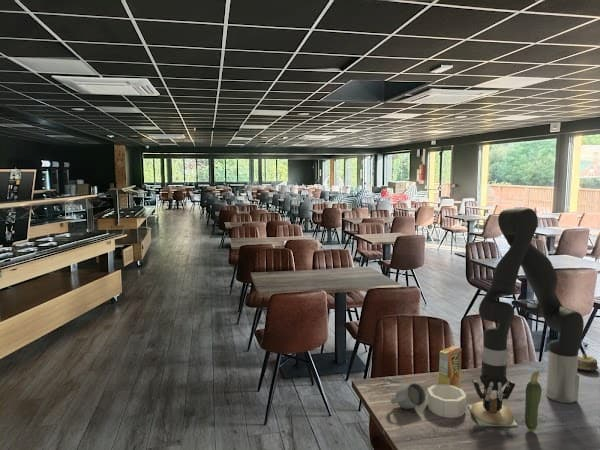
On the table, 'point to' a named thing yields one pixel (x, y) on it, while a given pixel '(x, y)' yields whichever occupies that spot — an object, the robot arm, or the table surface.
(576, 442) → the table surface
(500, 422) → the lid
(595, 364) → the cake
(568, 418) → the table surface
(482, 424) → the mat
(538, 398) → the vegetable
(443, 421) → the table surface
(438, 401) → the bowl
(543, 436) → the table surface
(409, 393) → the ceramic mug
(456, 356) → the candy box
